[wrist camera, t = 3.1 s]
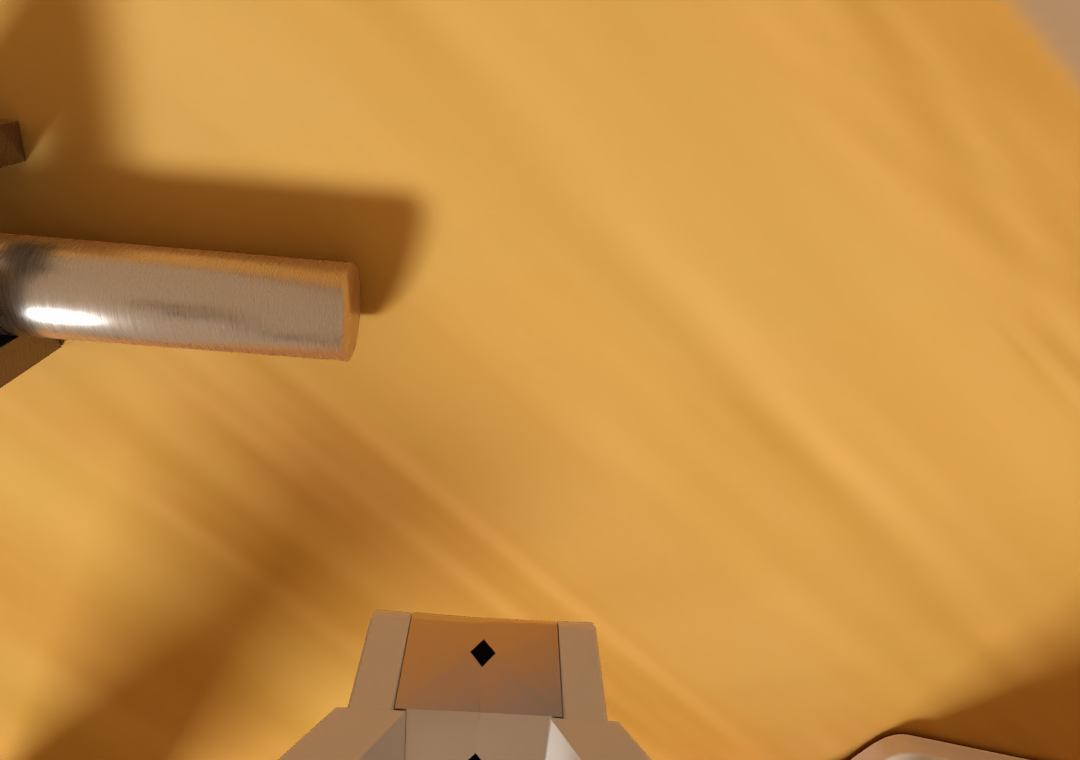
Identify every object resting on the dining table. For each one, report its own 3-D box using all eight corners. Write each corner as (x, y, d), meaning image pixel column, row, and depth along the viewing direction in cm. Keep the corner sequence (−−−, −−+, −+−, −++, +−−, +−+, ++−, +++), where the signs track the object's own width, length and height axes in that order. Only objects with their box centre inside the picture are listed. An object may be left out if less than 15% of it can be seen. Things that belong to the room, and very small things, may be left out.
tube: (352, 239, 23) (334, 325, 22) (364, 300, 26) (349, 381, 25) (-248, 188, 22) (-314, 274, 21) (-167, 257, 25) (-220, 338, 24)
